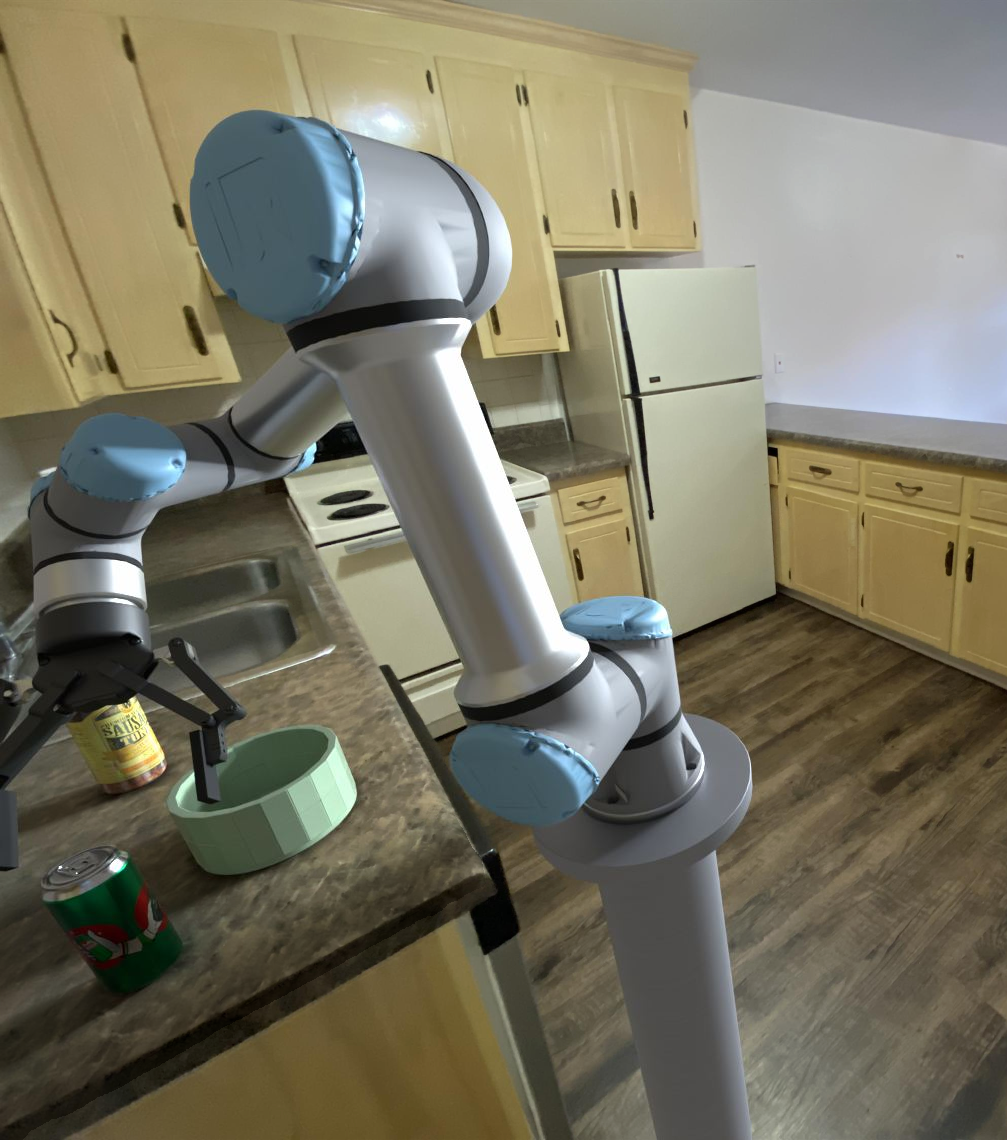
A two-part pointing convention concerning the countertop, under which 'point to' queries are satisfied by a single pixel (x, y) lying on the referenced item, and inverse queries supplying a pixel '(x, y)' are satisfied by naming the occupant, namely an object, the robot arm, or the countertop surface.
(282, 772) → the bowl
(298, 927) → the countertop surface
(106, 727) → the sauce bottle
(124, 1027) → the countertop surface
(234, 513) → the countertop surface
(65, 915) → the soda can
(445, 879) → the countertop surface
